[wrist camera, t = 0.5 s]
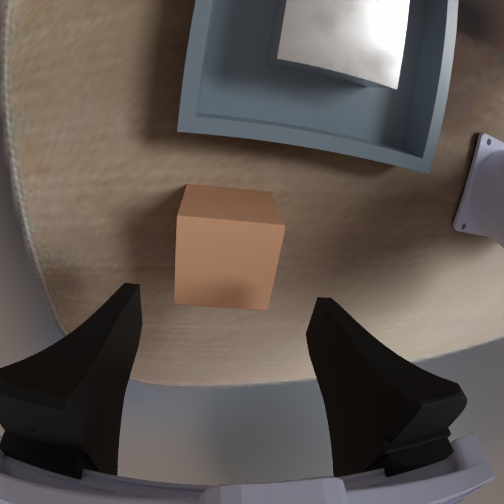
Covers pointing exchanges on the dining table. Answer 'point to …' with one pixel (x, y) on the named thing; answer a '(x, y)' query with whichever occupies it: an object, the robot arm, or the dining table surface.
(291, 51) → the steel block
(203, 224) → the carton
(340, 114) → the tote
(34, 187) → the dining table surface
